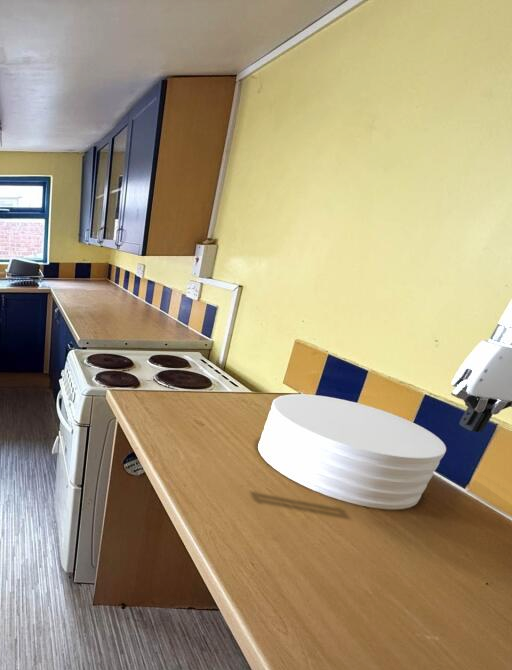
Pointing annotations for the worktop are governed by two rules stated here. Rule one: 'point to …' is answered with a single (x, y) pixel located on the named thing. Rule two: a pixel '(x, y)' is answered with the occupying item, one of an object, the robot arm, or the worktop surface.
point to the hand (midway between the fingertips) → (469, 428)
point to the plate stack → (350, 450)
